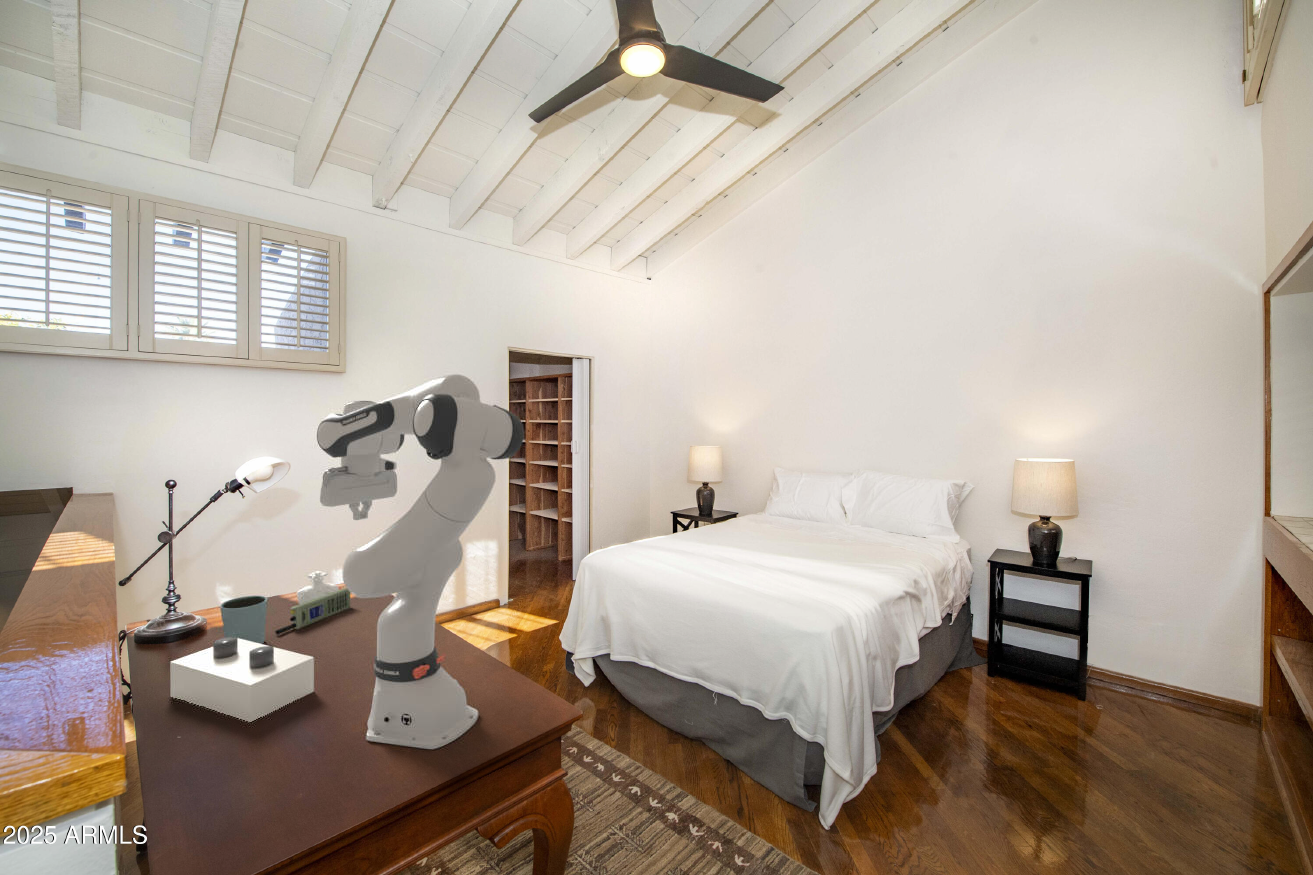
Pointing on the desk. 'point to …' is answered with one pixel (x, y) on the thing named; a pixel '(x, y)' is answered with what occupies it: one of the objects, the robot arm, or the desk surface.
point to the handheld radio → (318, 609)
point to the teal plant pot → (245, 618)
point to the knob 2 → (261, 657)
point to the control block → (242, 681)
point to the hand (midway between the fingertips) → (360, 519)
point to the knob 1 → (225, 647)
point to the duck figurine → (315, 588)
